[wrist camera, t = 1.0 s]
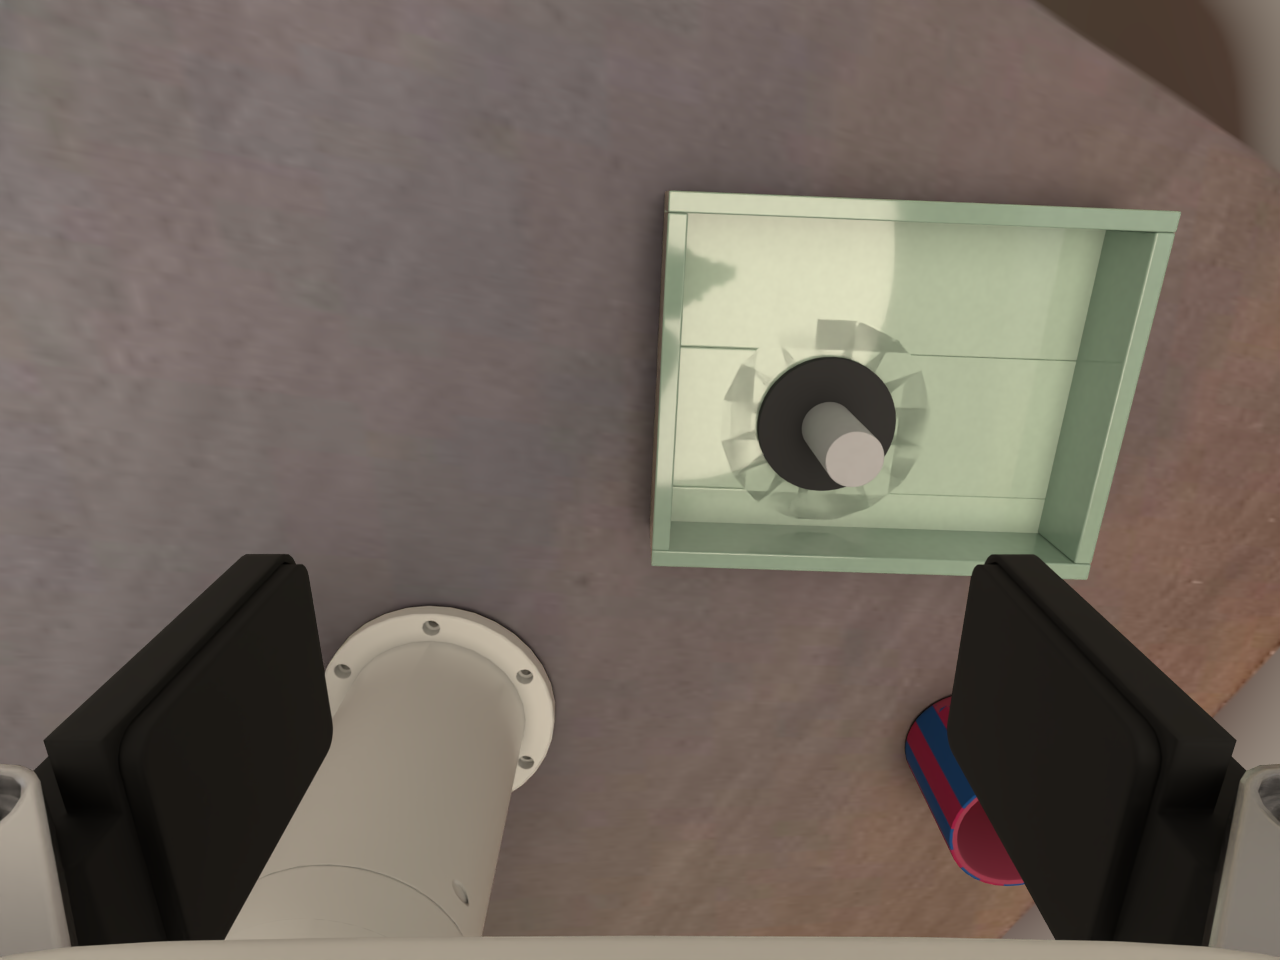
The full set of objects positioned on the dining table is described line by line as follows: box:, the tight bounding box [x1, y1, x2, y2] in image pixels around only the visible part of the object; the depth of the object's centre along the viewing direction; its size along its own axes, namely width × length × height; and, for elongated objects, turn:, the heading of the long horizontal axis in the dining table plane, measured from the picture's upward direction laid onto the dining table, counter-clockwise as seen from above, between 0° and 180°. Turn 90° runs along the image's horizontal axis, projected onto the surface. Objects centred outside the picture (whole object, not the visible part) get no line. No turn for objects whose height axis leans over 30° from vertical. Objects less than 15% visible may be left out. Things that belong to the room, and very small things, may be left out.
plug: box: [757, 357, 896, 491], centre depth 35 cm, size 6×6×6 cm
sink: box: [650, 190, 1181, 580], centre depth 35 cm, size 16×20×4 cm
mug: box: [905, 696, 1024, 886], centre depth 41 cm, size 7×10×7 cm
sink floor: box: [650, 200, 1106, 533], centre depth 37 cm, size 16×20×1 cm
